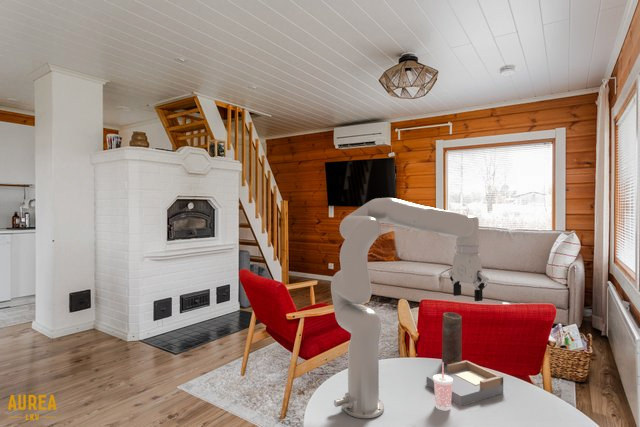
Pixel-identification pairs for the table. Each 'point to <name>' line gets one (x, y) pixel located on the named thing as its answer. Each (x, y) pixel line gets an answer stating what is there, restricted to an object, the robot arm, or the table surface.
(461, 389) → the dock
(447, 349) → the brown rough cylinder
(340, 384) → the table surface
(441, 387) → the beverage cup
